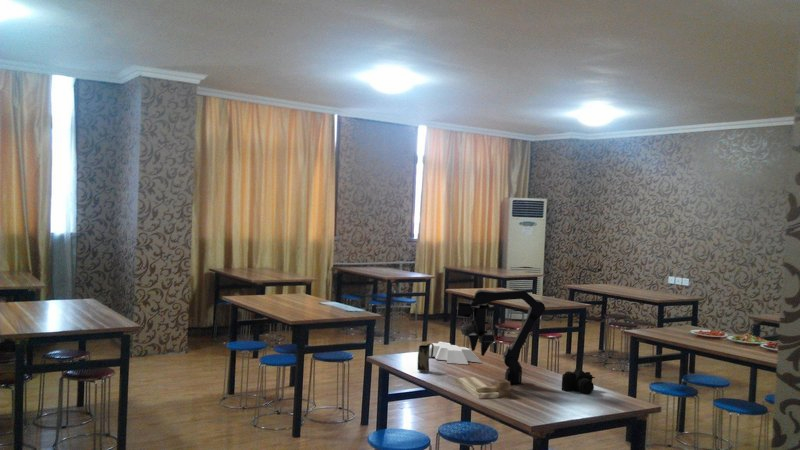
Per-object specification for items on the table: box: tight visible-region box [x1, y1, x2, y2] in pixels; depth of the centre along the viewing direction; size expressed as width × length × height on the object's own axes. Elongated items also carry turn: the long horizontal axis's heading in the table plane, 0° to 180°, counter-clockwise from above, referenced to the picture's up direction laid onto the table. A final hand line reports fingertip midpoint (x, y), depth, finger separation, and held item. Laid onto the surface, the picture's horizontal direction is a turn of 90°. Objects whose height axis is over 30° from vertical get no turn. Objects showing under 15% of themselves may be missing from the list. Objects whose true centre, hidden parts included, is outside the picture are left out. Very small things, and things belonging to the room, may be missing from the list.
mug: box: [417, 343, 434, 372], centre depth 298 cm, size 8×6×12 cm
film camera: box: [561, 368, 596, 395], centre depth 273 cm, size 15×10×9 cm, turn 106°
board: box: [454, 376, 500, 400], centre depth 268 cm, size 9×24×2 cm, turn 18°
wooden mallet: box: [476, 379, 511, 398], centre depth 260 cm, size 14×4×6 cm, turn 108°
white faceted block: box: [429, 341, 483, 365], centre depth 328 cm, size 35×20×6 cm, turn 41°
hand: (477, 353), depth 283 cm, fingers open, 9 cm apart
